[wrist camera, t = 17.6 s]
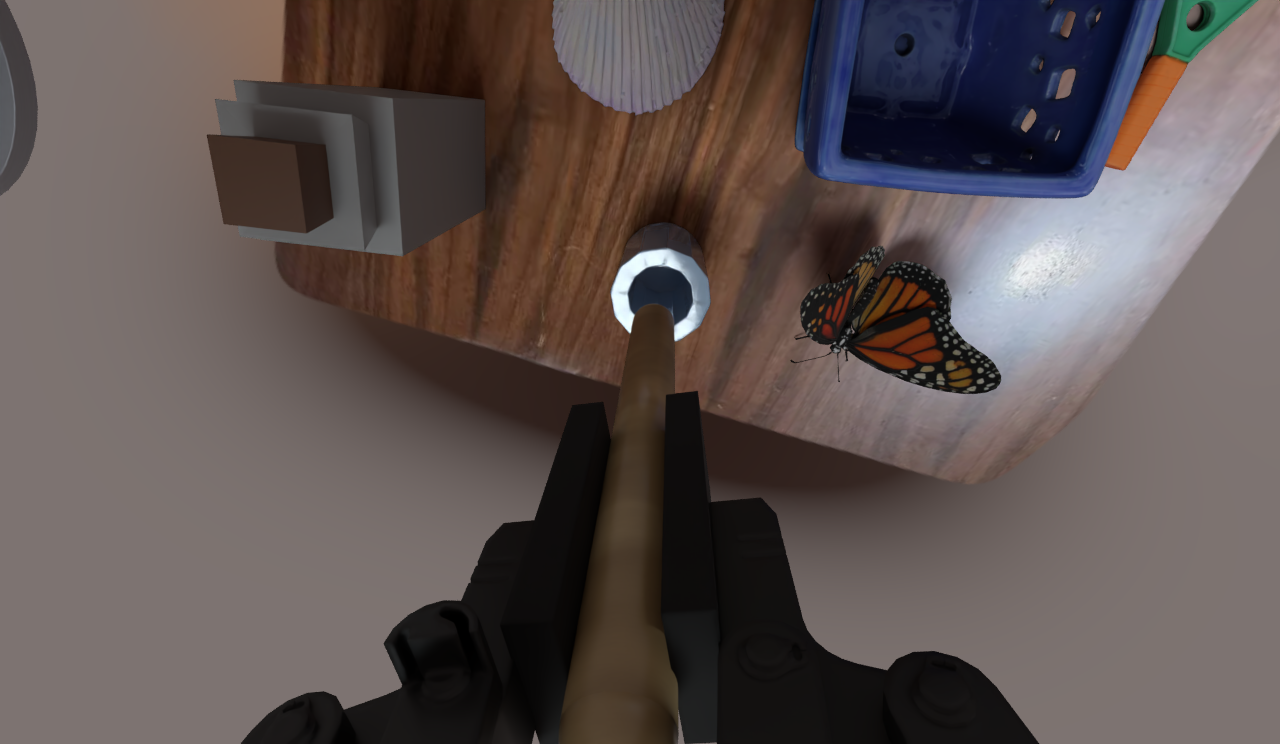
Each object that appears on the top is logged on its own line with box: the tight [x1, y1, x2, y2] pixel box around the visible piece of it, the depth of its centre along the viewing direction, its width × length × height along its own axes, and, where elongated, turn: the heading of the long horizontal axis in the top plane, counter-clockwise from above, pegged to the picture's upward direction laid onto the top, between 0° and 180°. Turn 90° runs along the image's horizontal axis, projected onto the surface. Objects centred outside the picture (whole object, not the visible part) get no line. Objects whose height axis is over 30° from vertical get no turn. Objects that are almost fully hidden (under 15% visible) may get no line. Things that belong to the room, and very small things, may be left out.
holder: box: [610, 222, 711, 341], centre depth 37 cm, size 6×6×8 cm
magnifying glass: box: [1105, 0, 1258, 170], centre depth 33 cm, size 15×6×2 cm, turn 163°
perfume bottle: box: [207, 80, 485, 256], centre depth 30 cm, size 7×7×18 cm
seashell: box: [552, 0, 725, 115], centre depth 33 cm, size 10×6×10 cm
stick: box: [558, 304, 678, 744], centre depth 15 cm, size 2×2×18 cm
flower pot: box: [795, 0, 1165, 198], centre depth 29 cm, size 13×13×12 cm
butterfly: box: [790, 246, 1001, 394], centre depth 37 cm, size 12×10×10 cm
